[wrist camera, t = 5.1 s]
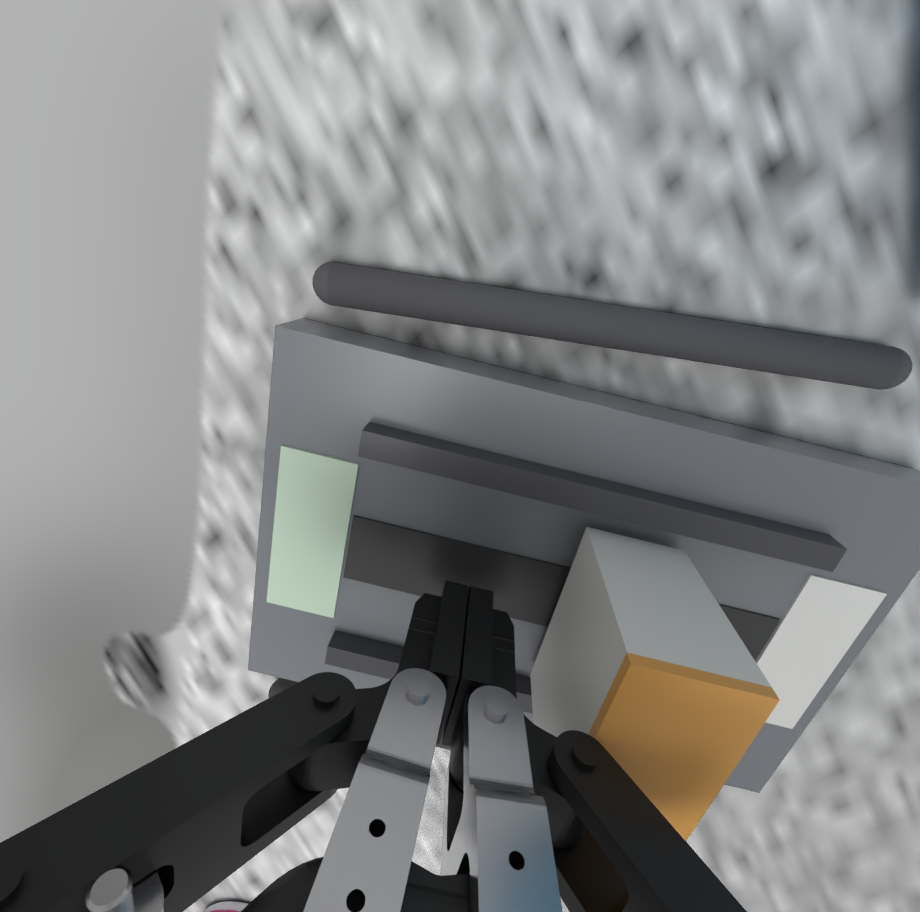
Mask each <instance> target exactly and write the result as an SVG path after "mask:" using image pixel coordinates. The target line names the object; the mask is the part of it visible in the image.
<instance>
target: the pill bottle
mask: <svg viewBox="0 0 920 912" xmlns="http://www.w3.org/2000/svg"><path fill="white" fill-rule="evenodd" d="M247 905H248V903H243V902H236V901H226V902H219V903H215V904H213V905H211V906H209V907H208V908H207V909H206V910H205V911H204V912H240V911H242V910H243V909H244V908H245V907H246V906H247Z"/></svg>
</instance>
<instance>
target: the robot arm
mask: <svg viewBox="0 0 920 912" xmlns="http://www.w3.org/2000/svg"><path fill="white" fill-rule="evenodd" d="M514 640H515V638H514V625H513V623H512V621H511V619H510V617H509V615H508V613H507V612H504V611H500V610H496V609H493V591H490V590H486V589H481V588H477V587H473V586H470V587H469V589H468V585H464V584H460V583H456V582H451V581H447V580H445V583H444V587H443V591H442V595H441V597H440V596H436V595H432V594H427V593H424V594H423V595H422V596H421V597H420V598H419V599H418V600H417V601H416V602H415V605H414V609H413V613H412V617H411V621H410V625H409V629H408V632H407V636H406V640H405V644H404V648H403V652H402V656H401V659H400V663H399V667H398V670H397V672H396V674H395V675H394V676H393V678H392V679H390V680H389V681H388V682H386V683H385V684H383V685H380V686H377V687H373V688H362V689H355V687H354V685H353V683H352V682H351V681H350V680H349V679H348V678H346V677H345V676H343V675H341V674H338V673H334V672H322V673H317V674H314V675H312V676H310V677H308V678H306V679H304V680H302V681H300V682H298V683H297V684H295V685H293V686H291V687H289V688H287V689H285V690H284V691H282V692H280V693H278V694H276V695H274V696H272V697H271V698H269V699H267V700H265V701H263V702H261V703H259V704H258V705H256V706H254V707H252V708H250V709H248V710H246V711H245V712H243V713H241V714H239V715H237V716H235V717H233V718H232V719H230V720H228V721H226V722H224V723H222V724H220V725H219V726H217V727H215V728H213V729H211V730H209V731H207V732H206V733H204V734H202V735H200V736H198V737H196V738H194V739H193V740H191V741H189V742H187V743H185V744H183V745H181V746H180V747H178V748H176V749H174V750H172V751H170V752H168V753H167V754H165V755H163V756H161V757H159V758H157V759H155V760H154V761H152V762H150V763H148V764H146V765H144V766H143V767H141V768H139V769H137V770H135V771H133V772H131V773H129V774H128V775H126V776H124V777H122V778H120V779H118V780H117V781H115V782H113V783H111V784H109V785H107V786H105V787H103V788H102V789H100V790H98V791H96V792H94V793H92V794H90V795H89V796H87V797H85V798H83V799H81V800H79V801H77V802H76V803H74V804H72V805H70V806H68V807H66V808H64V809H63V810H61V811H59V812H57V813H55V814H53V815H51V816H50V817H48V818H46V819H44V820H42V821H40V822H38V823H37V824H35V825H33V826H31V827H29V828H27V829H25V830H24V831H22V832H20V833H18V834H16V835H14V836H12V837H11V838H9V839H7V840H5V841H3V842H1V843H0V912H183V911H184V910H185V909H187V908H188V907H189V906H190V905H192V904H193V903H194V902H196V901H197V900H198V899H200V898H201V897H202V896H203V895H205V894H206V893H207V892H209V891H210V890H211V889H212V888H214V887H215V886H216V885H218V884H219V883H220V882H222V881H223V880H224V879H225V878H227V877H228V876H229V875H231V874H232V873H233V872H234V871H236V870H237V869H238V868H240V867H241V866H242V865H244V864H245V863H246V862H247V861H249V860H250V859H251V858H253V857H254V856H255V855H256V854H258V853H259V852H260V851H262V850H263V849H264V848H266V847H267V846H268V845H269V844H271V843H272V842H273V841H275V840H276V839H277V838H279V837H280V836H281V835H282V834H284V833H285V832H286V831H288V830H289V829H290V828H291V827H293V826H294V825H295V824H297V823H298V822H299V821H301V820H302V819H303V818H304V817H306V816H307V815H308V814H310V813H311V812H312V811H313V810H315V809H316V808H317V807H319V806H320V805H321V804H323V803H324V802H325V801H326V800H328V799H329V798H330V797H331V796H332V795H333V794H334V793H335V792H336V791H337V789H340V788H348V787H350V788H349V790H348V793H347V796H346V798H345V801H344V804H343V806H342V809H341V812H340V814H339V817H338V820H337V822H336V825H335V828H334V831H333V833H332V836H331V839H330V841H329V844H328V847H327V849H326V852H325V855H324V857H321V858H317V859H313V860H311V861H308V862H305V863H303V864H301V865H299V866H297V867H295V868H293V869H291V870H290V871H288V872H287V873H285V874H284V875H282V876H281V877H280V878H278V879H277V880H276V881H274V882H273V883H272V884H271V885H270V886H269V887H267V888H266V889H265V890H264V891H263V892H262V893H261V894H260V895H258V896H257V897H256V898H255V899H254V900H253V901H252V902H251V903H249V904H248V905H247V906H246V907H245V908H244V909H243V910H242V911H240V912H562V906H561V900H560V897H561V898H562V900H563V902H564V903H565V905H566V906H567V908H568V909H569V911H570V912H746V910H745V909H744V908H743V907H742V906H741V905H740V904H739V902H738V901H737V900H736V899H735V898H734V897H733V895H732V894H731V893H730V892H729V891H728V890H727V889H726V887H725V886H724V885H723V884H722V883H721V882H720V880H719V879H718V878H717V877H716V876H715V875H714V874H713V872H712V871H711V870H710V869H709V868H708V867H707V865H706V864H705V863H704V862H703V861H702V860H701V859H700V857H699V856H698V855H697V854H696V853H695V852H694V850H693V849H692V848H691V847H690V846H689V845H688V844H687V842H686V841H685V840H684V839H683V838H682V837H681V835H680V834H679V833H678V832H677V831H676V830H675V829H674V827H673V826H672V825H671V824H670V823H669V822H668V820H667V819H666V818H665V817H664V816H663V815H662V814H661V812H660V811H659V810H658V809H657V808H656V807H655V805H654V804H653V803H652V802H651V801H650V800H649V799H648V797H647V796H646V795H645V794H644V793H643V792H642V790H641V789H640V788H639V787H638V786H637V785H636V784H635V782H634V781H633V780H632V779H631V778H630V777H629V775H628V774H627V773H626V772H625V771H624V770H623V769H622V767H621V766H620V765H619V764H618V763H617V762H616V760H615V759H614V758H613V757H612V756H611V755H610V754H609V752H608V751H607V750H606V749H605V748H604V747H603V746H602V744H601V743H600V742H598V741H597V740H596V739H595V738H593V737H592V736H590V735H588V734H586V733H584V732H581V731H576V730H569V731H565V732H563V733H561V734H560V735H559V736H558V737H555V736H554V735H552V734H550V733H548V732H546V731H545V730H543V729H541V728H539V727H538V726H536V725H535V724H534V723H532V722H531V721H530V720H529V719H528V718H527V717H526V716H525V714H524V713H523V709H522V707H521V705H520V703H519V701H518V700H517V695H516V668H515V642H514ZM443 730H444V731H443ZM442 733H443V739H442V745H446V746H450V747H451V754H450V762H449V765H448V768H447V771H446V775H445V789H444V816H443V843H442V862H441V871H440V876H439V875H435V874H433V873H431V872H429V871H427V870H426V869H424V868H422V867H421V866H419V865H417V864H415V863H414V862H412V856H413V852H414V847H415V843H416V838H417V833H418V829H419V824H420V820H421V815H422V811H423V806H424V802H425V797H426V793H427V788H428V783H429V778H430V774H429V773H430V768H431V764H432V759H433V755H434V750H435V746H436V743H437V744H439V743H440V740H441V737H442Z"/></svg>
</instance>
